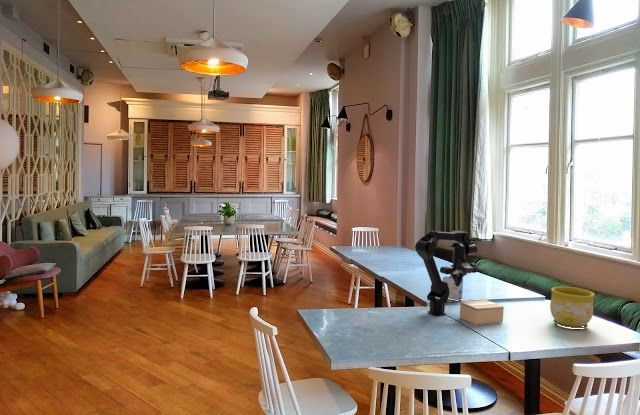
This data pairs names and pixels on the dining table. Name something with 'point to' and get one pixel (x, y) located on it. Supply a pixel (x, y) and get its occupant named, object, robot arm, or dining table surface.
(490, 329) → the dining table surface
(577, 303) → the flowerpot
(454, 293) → the ink cartridge box
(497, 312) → the carton
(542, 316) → the dining table surface
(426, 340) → the dining table surface
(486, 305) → the carton lid
